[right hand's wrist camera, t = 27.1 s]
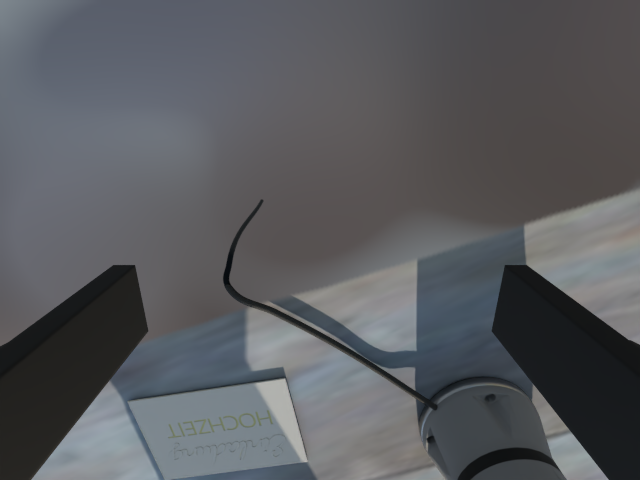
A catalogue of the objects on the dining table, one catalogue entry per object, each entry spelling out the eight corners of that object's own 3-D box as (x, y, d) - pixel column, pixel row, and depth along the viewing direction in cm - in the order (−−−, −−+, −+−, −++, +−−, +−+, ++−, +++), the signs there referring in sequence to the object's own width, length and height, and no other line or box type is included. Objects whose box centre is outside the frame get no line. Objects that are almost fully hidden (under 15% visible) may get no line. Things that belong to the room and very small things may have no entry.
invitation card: (285, 379, 44) (307, 462, 49) (285, 377, 44) (307, 460, 49) (127, 402, 45) (164, 480, 51) (128, 400, 46) (165, 479, 51)
